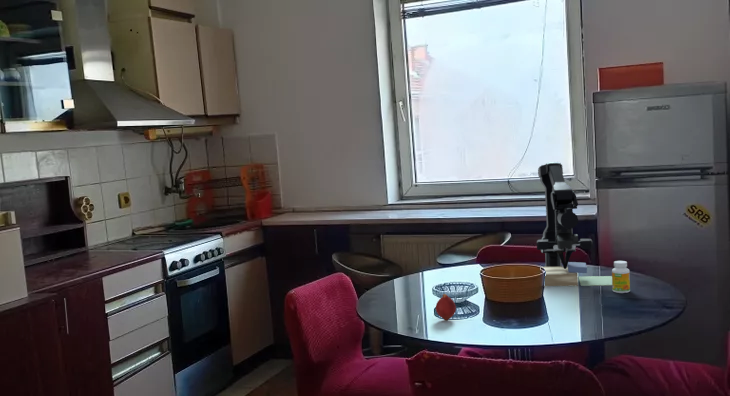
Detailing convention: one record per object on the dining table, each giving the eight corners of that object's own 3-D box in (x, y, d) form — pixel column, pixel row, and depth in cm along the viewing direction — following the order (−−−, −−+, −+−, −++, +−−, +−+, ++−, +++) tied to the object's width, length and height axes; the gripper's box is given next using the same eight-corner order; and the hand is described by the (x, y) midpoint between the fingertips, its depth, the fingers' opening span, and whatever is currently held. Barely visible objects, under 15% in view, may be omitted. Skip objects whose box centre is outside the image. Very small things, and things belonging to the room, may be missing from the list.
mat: (578, 277, 250) (578, 276, 250) (613, 276, 247) (613, 276, 247) (580, 285, 237) (580, 284, 237) (618, 285, 234) (618, 284, 234)
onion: (443, 316, 210) (442, 290, 209) (460, 318, 206) (458, 292, 206) (432, 321, 206) (431, 294, 205) (449, 324, 202) (448, 297, 201)
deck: (540, 277, 253) (540, 266, 252) (575, 277, 250) (574, 266, 250) (541, 286, 240) (541, 274, 240) (577, 285, 237) (577, 274, 237)
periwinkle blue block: (567, 267, 248) (567, 261, 247) (585, 268, 246) (585, 262, 246) (568, 272, 240) (568, 266, 240) (586, 273, 238) (586, 267, 238)
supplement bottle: (612, 293, 225) (612, 263, 224) (612, 289, 230) (611, 260, 229) (630, 293, 223) (629, 263, 222) (629, 289, 228) (628, 260, 227)
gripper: (536, 228, 237) (537, 273, 238) (593, 227, 232) (594, 273, 234) (536, 223, 248) (537, 267, 249) (591, 222, 243) (592, 266, 245)
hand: (565, 268), depth 244 cm, fingers closed
